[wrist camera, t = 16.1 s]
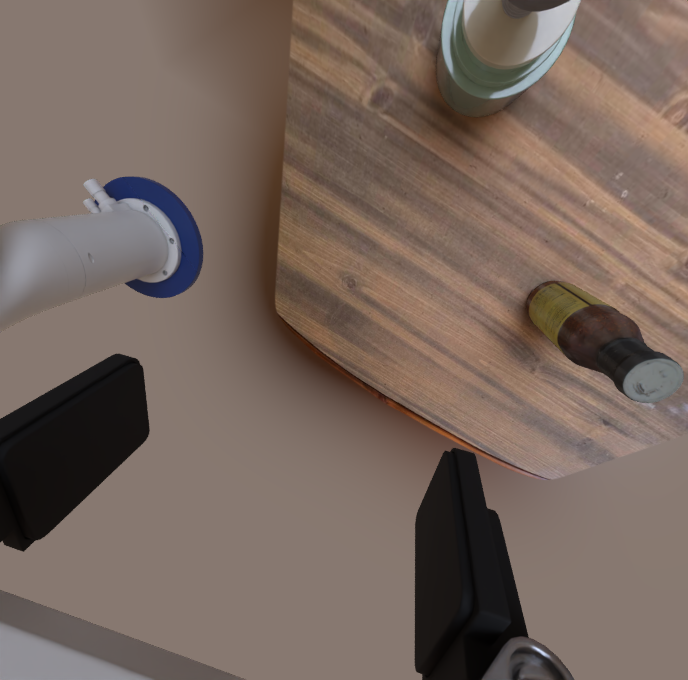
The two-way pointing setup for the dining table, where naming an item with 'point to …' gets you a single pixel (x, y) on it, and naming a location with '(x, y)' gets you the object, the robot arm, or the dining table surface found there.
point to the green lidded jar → (496, 53)
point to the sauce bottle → (603, 341)
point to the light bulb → (528, 6)
